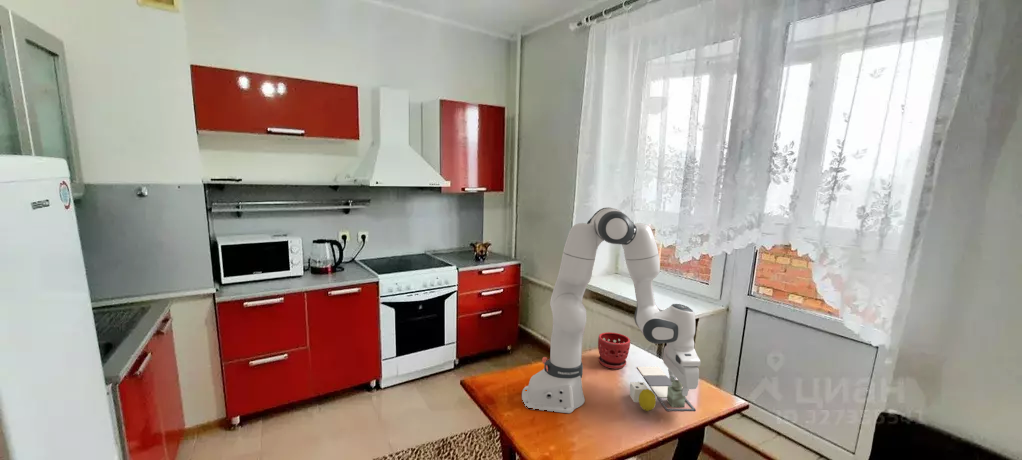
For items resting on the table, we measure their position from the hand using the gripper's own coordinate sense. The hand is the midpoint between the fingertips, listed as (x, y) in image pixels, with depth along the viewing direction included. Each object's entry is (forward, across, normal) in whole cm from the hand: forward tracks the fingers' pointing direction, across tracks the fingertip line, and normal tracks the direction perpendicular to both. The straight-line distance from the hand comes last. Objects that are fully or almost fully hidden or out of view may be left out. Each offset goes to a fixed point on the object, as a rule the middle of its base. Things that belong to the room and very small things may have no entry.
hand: (678, 387), depth 144 cm
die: (+6, -4, -13) cm, 14 cm away
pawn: (+6, 0, -1) cm, 6 cm away
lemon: (+6, +4, -13) cm, 15 cm away
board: (+6, -12, -1) cm, 13 cm away
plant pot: (+6, -30, -14) cm, 34 cm away
